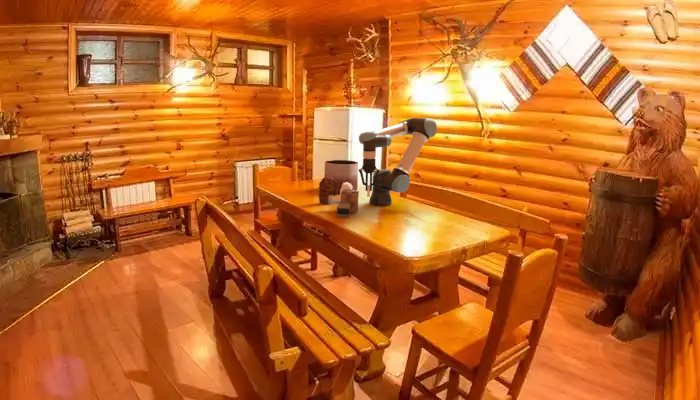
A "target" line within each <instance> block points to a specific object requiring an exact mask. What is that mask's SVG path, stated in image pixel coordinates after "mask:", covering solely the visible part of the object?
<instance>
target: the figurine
mask: <svg viewBox="0 0 700 400" xmlns="http://www.w3.org/2000/svg"><path fill="white" fill-rule="evenodd" d="M352 188H353V187H352V184H350V183H348V182H346V183H344V182H343V185H342V188H341V190H340V193H339V196H341V191H342V189H352ZM353 191H354V190H353Z"/></svg>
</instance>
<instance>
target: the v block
mask: <svg viewBox="0 0 700 400" xmlns="http://www.w3.org/2000/svg"><path fill="white" fill-rule="evenodd" d="M336 211H337V212H336V218H346V219H347V218H349V217H350V214H351V213H350V204H346V203H339V205H338V204H337V206H336Z"/></svg>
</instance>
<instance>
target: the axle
mask: <svg viewBox="0 0 700 400" xmlns="http://www.w3.org/2000/svg"><path fill="white" fill-rule="evenodd" d="M339 203H341V196H340V195H337V194H336V195H329V198H328V204H327V205H337V206H338V205H339ZM357 206H358V207H359V197H358V198H357Z"/></svg>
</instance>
